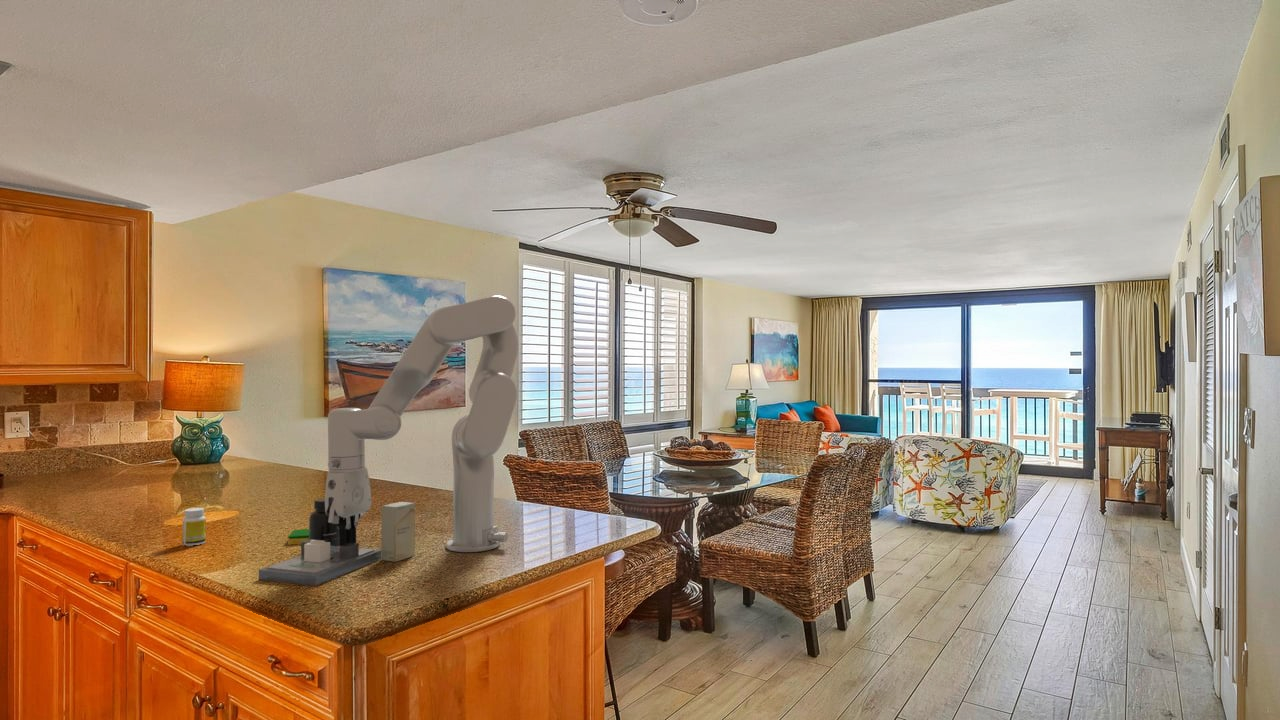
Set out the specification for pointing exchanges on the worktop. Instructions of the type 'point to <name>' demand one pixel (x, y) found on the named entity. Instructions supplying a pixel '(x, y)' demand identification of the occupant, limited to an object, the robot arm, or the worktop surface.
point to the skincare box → (398, 531)
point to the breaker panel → (320, 565)
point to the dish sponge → (298, 536)
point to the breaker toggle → (317, 551)
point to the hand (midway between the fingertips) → (347, 545)
